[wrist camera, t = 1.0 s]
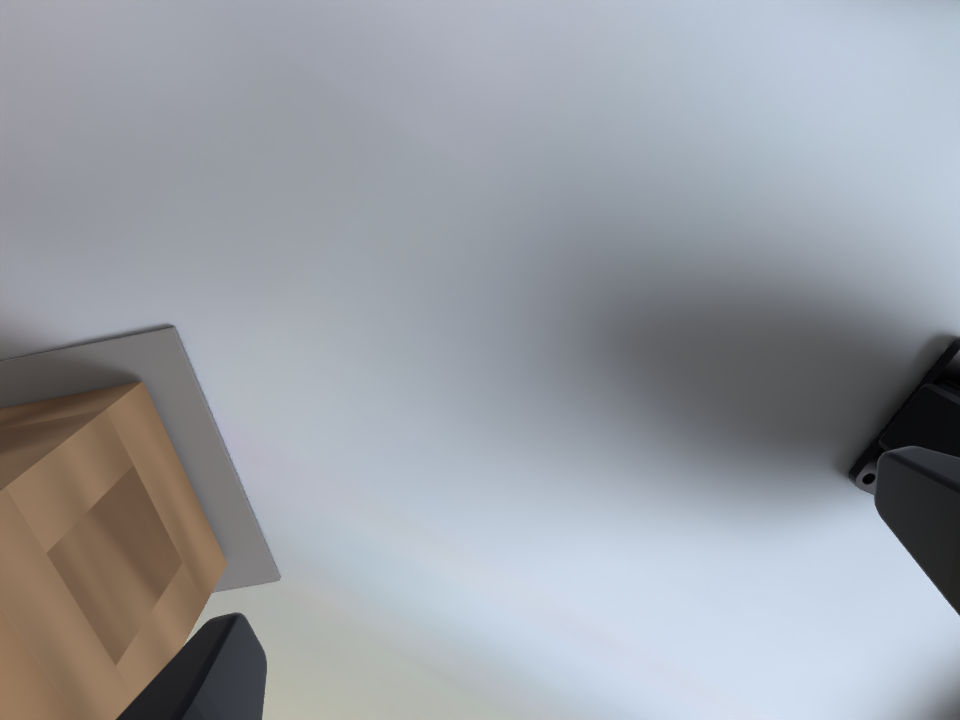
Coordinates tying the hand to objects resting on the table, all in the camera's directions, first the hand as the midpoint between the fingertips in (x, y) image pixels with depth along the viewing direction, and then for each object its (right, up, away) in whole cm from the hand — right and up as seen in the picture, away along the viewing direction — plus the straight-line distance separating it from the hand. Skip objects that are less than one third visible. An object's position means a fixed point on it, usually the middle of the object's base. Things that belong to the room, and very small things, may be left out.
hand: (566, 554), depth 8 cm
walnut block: (-16, -2, +13) cm, 21 cm away
